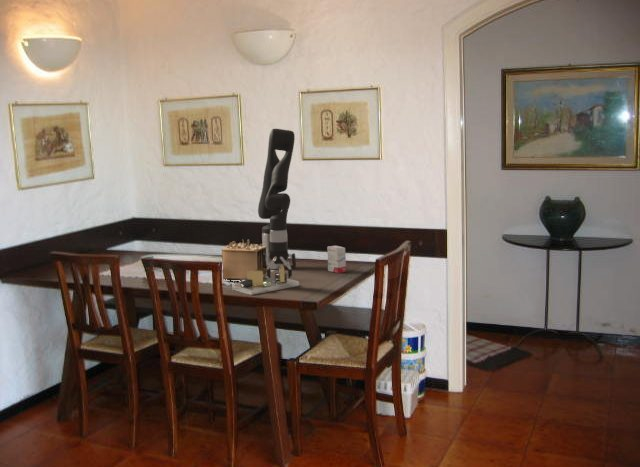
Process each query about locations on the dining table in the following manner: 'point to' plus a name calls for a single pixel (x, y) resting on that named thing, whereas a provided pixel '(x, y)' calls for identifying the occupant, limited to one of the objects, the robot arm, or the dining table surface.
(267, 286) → the levelling plate
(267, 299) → the dining table surface
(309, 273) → the dining table surface
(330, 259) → the ink box
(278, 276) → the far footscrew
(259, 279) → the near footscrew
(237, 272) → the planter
